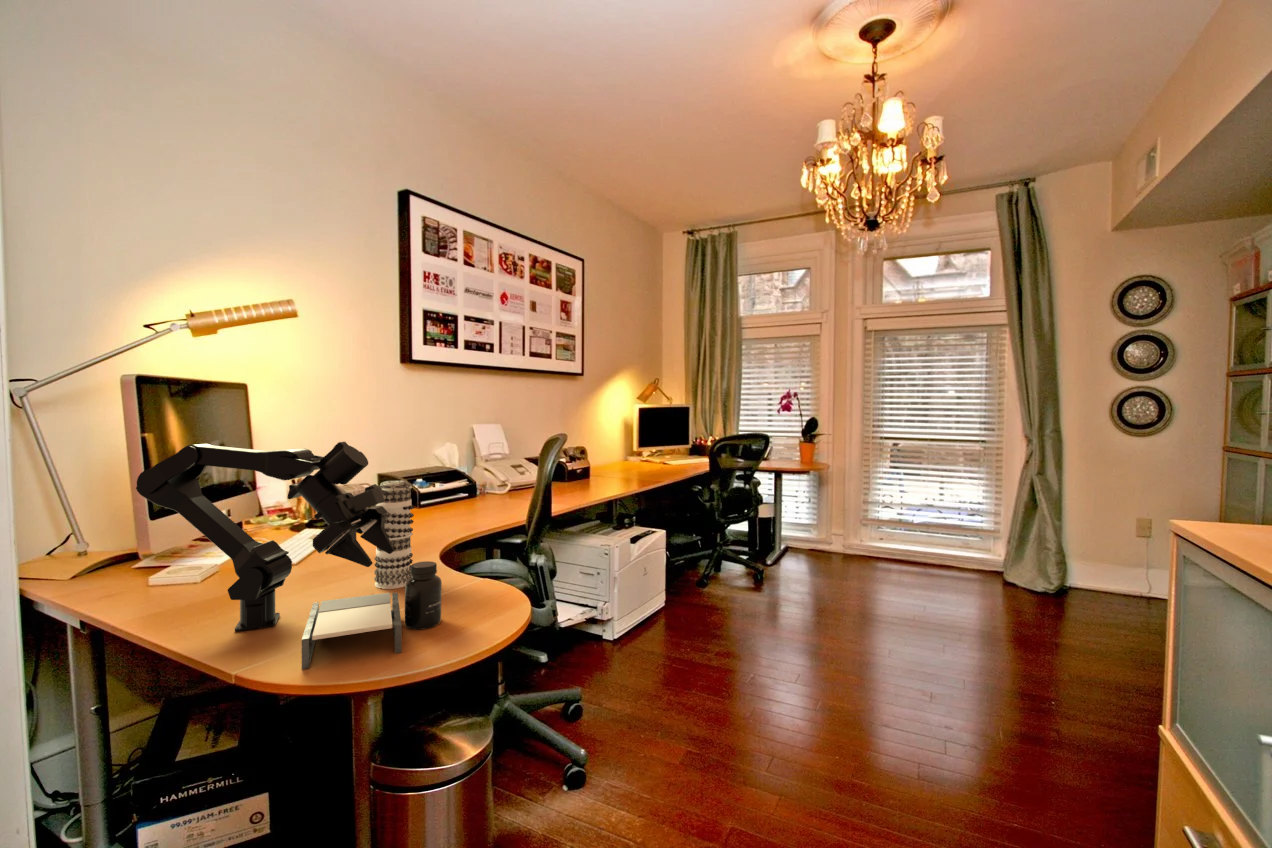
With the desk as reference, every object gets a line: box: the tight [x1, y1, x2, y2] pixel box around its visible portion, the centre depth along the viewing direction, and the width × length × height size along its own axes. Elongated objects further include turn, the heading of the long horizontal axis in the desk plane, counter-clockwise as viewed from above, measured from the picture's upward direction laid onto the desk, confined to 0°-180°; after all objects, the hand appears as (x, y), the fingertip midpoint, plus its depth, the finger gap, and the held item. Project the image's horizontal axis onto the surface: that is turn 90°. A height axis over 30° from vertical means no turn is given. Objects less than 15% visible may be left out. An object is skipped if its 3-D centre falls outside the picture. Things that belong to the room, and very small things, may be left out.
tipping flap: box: [312, 592, 393, 641], centre depth 99 cm, size 17×12×3 cm
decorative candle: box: [373, 480, 415, 590], centre depth 131 cm, size 9×9×25 cm
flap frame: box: [301, 592, 402, 670], centre depth 99 cm, size 18×15×5 cm
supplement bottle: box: [404, 561, 443, 630], centre depth 107 cm, size 7×7×12 cm
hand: (381, 558), depth 106 cm, fingers open, 9 cm apart
